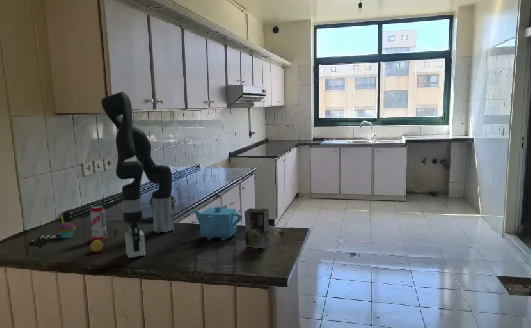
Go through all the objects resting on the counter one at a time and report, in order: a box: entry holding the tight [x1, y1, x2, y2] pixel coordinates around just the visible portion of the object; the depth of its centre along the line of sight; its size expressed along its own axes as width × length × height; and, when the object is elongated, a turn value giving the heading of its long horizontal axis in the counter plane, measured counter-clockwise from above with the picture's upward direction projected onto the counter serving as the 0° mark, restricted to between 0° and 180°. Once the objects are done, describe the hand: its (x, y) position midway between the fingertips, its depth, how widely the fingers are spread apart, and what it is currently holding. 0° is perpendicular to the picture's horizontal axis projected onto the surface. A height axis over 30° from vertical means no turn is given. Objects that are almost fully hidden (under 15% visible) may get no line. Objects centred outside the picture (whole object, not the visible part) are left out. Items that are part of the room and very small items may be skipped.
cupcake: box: [56, 213, 77, 239], centre depth 194 cm, size 9×8×12 cm
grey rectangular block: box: [124, 229, 146, 259], centre depth 165 cm, size 7×7×9 cm
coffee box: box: [244, 207, 270, 250], centre depth 172 cm, size 9×6×16 cm
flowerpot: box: [148, 195, 176, 215], centre depth 229 cm, size 14×15×20 cm
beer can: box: [89, 205, 107, 242], centre depth 188 cm, size 6×6×16 cm
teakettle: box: [190, 204, 243, 241], centre depth 187 cm, size 19×19×15 cm
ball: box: [90, 240, 104, 253], centre depth 171 cm, size 5×5×5 cm
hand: (135, 248), depth 166 cm, fingers closed on grey rectangular block, 7 cm apart
